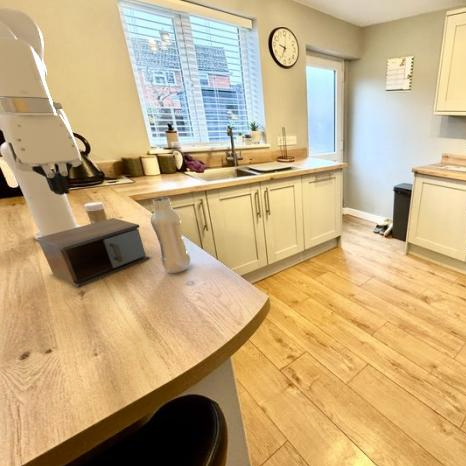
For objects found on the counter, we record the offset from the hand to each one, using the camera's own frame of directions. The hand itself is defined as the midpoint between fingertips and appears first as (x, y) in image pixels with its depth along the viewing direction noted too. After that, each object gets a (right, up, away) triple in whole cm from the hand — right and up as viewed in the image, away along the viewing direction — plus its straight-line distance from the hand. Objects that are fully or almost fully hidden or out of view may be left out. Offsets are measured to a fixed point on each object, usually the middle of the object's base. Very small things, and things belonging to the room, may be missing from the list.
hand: (62, 193), depth 67 cm
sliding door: (+7, -17, +13) cm, 23 cm away
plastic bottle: (+20, -20, +12) cm, 31 cm away
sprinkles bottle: (-13, -13, +27) cm, 33 cm away
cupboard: (-2, -18, +13) cm, 23 cm away
